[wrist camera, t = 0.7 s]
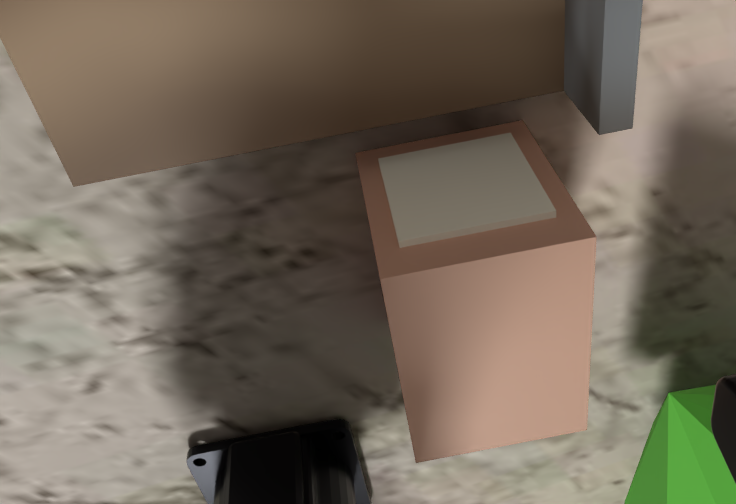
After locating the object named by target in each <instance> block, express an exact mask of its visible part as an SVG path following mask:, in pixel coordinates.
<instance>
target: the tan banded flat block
mask: <svg viewBox="0 0 736 504" xmlns="http://www.w3.org/2000/svg"><path fill="white" fill-rule="evenodd" d="M642 3H643V0H0V38H1V40H2V42H3V44H4V46H5V48H6V50H7V52H8V55H9V57H10V59H11V61H12V63H13V65H14V67H15V69H16V71H17V73H18V75H19V77H20V79H21V81H22V83H23V85H24V87H25V89H26V91H27V93H28V95H29V97H30V99H31V101H32V103H33V105H34V107H35V109H36V111H37V113H38V115H39V117H40V120H41V122H42V124H43V126H44V128H45V130H46V132H47V134H48V136H49V138H50V140H51V142H52V144H53V146H54V148H55V150H56V152H57V154H58V156H59V158H60V160H61V162H62V164H63V166H64V168H65V170H66V172H67V174H68V176H69V178H70V180H71V182H72V185H73V187H75V186H80V185H85V184H90V183H95V182H100V181H105V180H110V179H116V178H121V177H126V176H131V175H136V174H141V173H146V172H151V171H156V170H161V169H167V168H172V167H177V166H182V165H187V164H192V163H197V162H202V161H207V160H213V159H218V158H223V157H228V156H233V155H238V154H243V153H248V152H253V151H258V150H264V149H269V148H274V147H279V146H284V145H289V144H294V143H299V142H304V141H309V140H315V139H320V138H325V137H330V136H335V135H340V134H345V133H350V132H355V131H360V130H366V129H371V128H376V127H381V126H386V125H391V124H396V123H401V122H406V121H411V120H417V119H422V118H427V117H432V116H437V115H442V114H447V113H452V112H457V111H463V110H468V109H473V108H478V107H483V106H488V105H493V104H498V103H503V102H508V101H514V100H519V99H524V98H529V97H534V96H539V95H544V94H549V93H554V92H559V91H565V93H566V94H567V95H568V96H569V98H570V99H571V100H572V101H573V103H574V104H575V105H576V107H577V108H578V109H579V110H580V112H581V113H582V114H583V115H584V117H585V118H586V119H587V120H588V122H589V123H590V124H591V125H592V127H593V128H594V129H595V131H596V132H597V133H598V134H599V135H601V134H606V133H611V132H616V131H621V130H626V129H632V128H633V115H634V103H635V90H636V78H637V65H638V53H639V40H640V28H641V15H642Z"/></svg>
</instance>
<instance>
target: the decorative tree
mask: <svg viewBox="0 0 736 504" xmlns="http://www.w3.org/2000/svg"><path fill="white" fill-rule="evenodd" d="M715 388H716V385H711V386H705V387H699V388H693V389H687V390H681V391H675V392H669V393H668V395H667V397H666V399H665V401H664V403H663V405H662V407H661V409H660V411H659V413H658V415H657V417H656V418H655V420H654V422H653V425H652V428H651V431H650V433H649V436H648V439H647V442H646V445H645V447H644V450H643V453H642V456H641V458H640V461H639V464H638V467H637V470H636V472H635V475H634V478H633V481H632V483H631V486H630V489H629V492H628V495H627V497H626V500H625V503H624V504H736V484H735V481H734V479H733V477H732V475H731V473H730V471H729V469H728V466H727V464H726V462H725V460H724V458H723V456H722V453H721V451H720V449H719V447H718V445H717V443H716V440H715V438H714V435H713V432H712V428H711V414H712V407H713V401H714V394H715Z"/></svg>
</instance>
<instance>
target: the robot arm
mask: <svg viewBox="0 0 736 504" xmlns="http://www.w3.org/2000/svg"><path fill="white" fill-rule="evenodd" d="M711 428H712V432H713V435H714V438H715V440H716V443H717V445H718V447H719V449H720V451H721V453H722V456H723V458H724V460H725V462H726V464H727V466H728V469H729V471H730V473H731V475H732V477H733V479H734V481H735V484H736V374H734V375H729V376H724V377H722V378H720V379H719V380H718V382H717V384H716V388H715V394H714V401H713V407H712V414H711ZM187 465H188V467H189V469H190V471H191V473H192V475H193V477H194V479H195V481H196V482H197V484H198V486H199V488H200V490H201V492H202V494H203V496H204V498H205V500H206V501H207V503H208V504H372V503H371V500H370V496H369V492H368V489H367V485H366V481H365V478H364V474H363V471H362V467H361V463H360V460H359V456H358V452H357V449H356V445H355V441H354V438H353V434H352V430H351V427H350V424H349V423H348V422H347V421H345V420H342V419H335V420H330V421H325V422H320V423H314V424H309V425H304V426H299V427H294V428H288V429H283V430H278V431H273V432H268V433H262V434H257V435H252V436H247V437H242V438H236V439H231V440H226V441H221V442H216V443H210V444H205V445H200V446H196V447H193V448H191V449H190V450H189V451H188V454H187Z"/></svg>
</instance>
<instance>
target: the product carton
mask: <svg viewBox="0 0 736 504" xmlns="http://www.w3.org/2000/svg"><path fill="white" fill-rule="evenodd" d="M355 154H356V159H357V164H358V169H359V174H360V179H361V184H362V190H363V195H364V200H365V205H366V210H367V215H368V220H369V225H370V231H371V236H372V241H373V246H374V251H375V256H376V261H377V267H378V272H379V277H380V282H381V287H382V292H383V297H384V302H385V308H386V313H387V318H388V323H389V328H390V333H391V338H392V343H393V348H394V354H395V359H396V364H397V369H398V374H399V379H400V384H401V389H402V394H403V399H404V405H405V410H406V415H407V420H408V425H409V430H410V435H411V440H412V445H413V450H414V455H415V461H416V463H418V462H423V461H428V460H434V459H439V458H444V457H449V456H454V455H460V454H465V453H470V452H475V451H480V450H486V449H491V448H496V447H501V446H506V445H511V444H517V443H522V442H527V441H532V440H537V439H543V438H548V437H553V436H558V435H563V434H569V433H574V432H579V431H584V430H587V418H588V398H589V377H590V357H591V337H592V317H593V297H594V276H595V256H596V235H595V234H594V232H593V231H592V229H591V228H590V226H589V224H588V223H587V221H586V220H585V218H584V216H583V215H582V213H581V212H580V210H579V209H578V207H577V205H576V204H575V202H574V201H573V199H572V198H571V196H570V194H569V193H568V191H567V190H566V188H565V187H564V185H563V183H562V182H561V180H560V179H559V177H558V175H557V174H556V172H555V171H554V169H553V168H552V166H551V164H550V163H549V161H548V160H547V158H546V157H545V155H544V153H543V152H542V150H541V149H540V147H539V145H538V144H537V142H536V141H535V139H534V138H533V136H532V134H531V133H530V131H529V130H528V128H527V127H526V125H525V123H524V122H523V120H521V121H516V122H510V123H505V124H500V125H495V126H490V127H485V128H480V129H475V130H470V131H464V132H459V133H454V134H449V135H444V136H439V137H434V138H429V139H424V140H419V141H413V142H408V143H403V144H398V145H393V146H388V147H383V148H378V149H373V150H368V151H362V152H357V153H355Z"/></svg>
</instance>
